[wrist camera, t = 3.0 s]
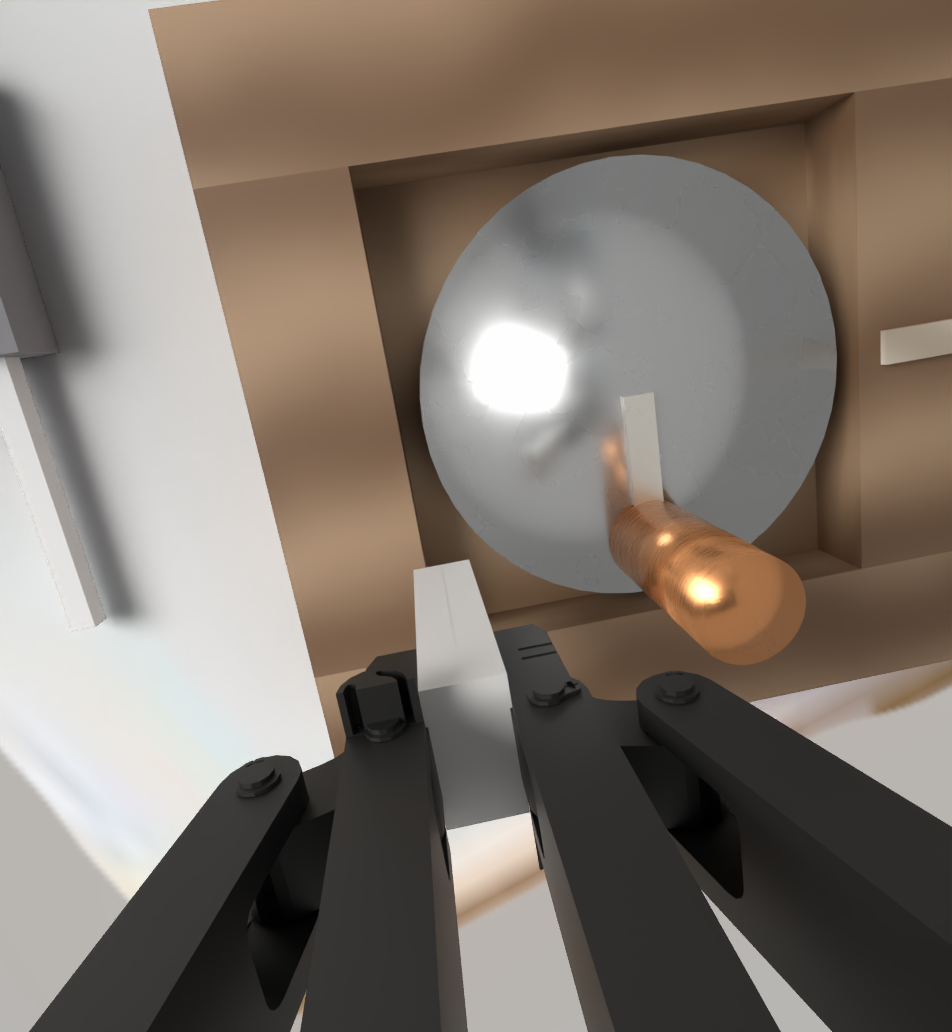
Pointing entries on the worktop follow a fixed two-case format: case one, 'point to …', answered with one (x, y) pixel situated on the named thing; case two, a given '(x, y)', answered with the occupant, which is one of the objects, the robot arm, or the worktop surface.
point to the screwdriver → (37, 424)
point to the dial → (636, 391)
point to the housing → (494, 183)
